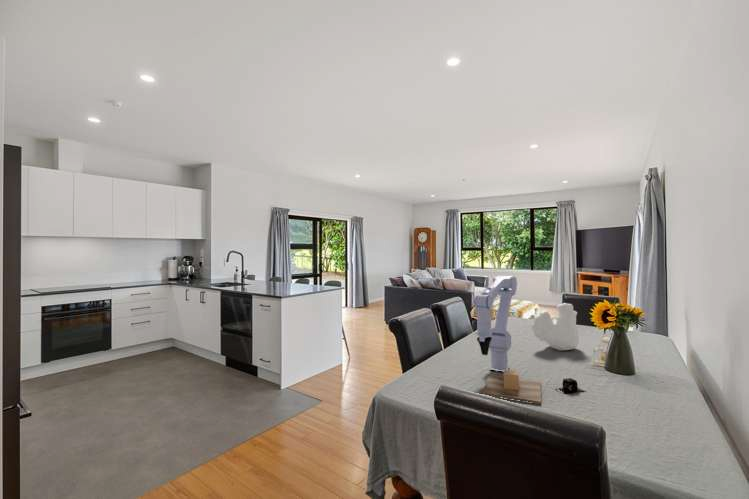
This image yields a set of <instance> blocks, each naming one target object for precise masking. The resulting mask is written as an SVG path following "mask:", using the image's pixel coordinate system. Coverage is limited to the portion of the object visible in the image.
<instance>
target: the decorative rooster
mask: <svg viewBox="0 0 749 499" xmlns="http://www.w3.org/2000/svg"><path fill="white" fill-rule="evenodd" d="M556 310H557V315H552V316H551V315H550V313H549V312H548V311H547V310H541V311H539V312H538V314H537V315H536V316H534V319H533V320H532V321H533V322H532V324H531V325H530V327H531V331H532V333H533V334H532V335H533V336H534V338H536V339H537V340H539V341H540V342H545V343H546V344H547V345H548V346H549V347H550V348H552V349H553V348H554V349H553V350H556V349H557V351H570V350H573V349H575V348H577V347H578V345H579V343H580V336H579V330H578V327H577V325H576V324H577V315H578V312H577V311H576V310H574V305H573V304H572V303H567V302H563V303H561V304H558V305H557V306H556ZM554 319H555V321H553V320H554Z"/></svg>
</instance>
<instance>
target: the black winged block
mask: <svg viewBox="0 0 749 499" xmlns="http://www.w3.org/2000/svg"><path fill="white" fill-rule="evenodd" d="M557 388H558V389H559V390H560V391H562V392H563V393H564V394H563V393H562V394H563V395H565V394H566V395H572V394H578V393H579V394H580V393H586V392H587V391H586V390H583V389H582V388H580V387H578V382H577V380H576V379H574V378H572V377H568V378H563V379H562V387H557Z"/></svg>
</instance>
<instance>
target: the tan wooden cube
mask: <svg viewBox="0 0 749 499" xmlns="http://www.w3.org/2000/svg"><path fill="white" fill-rule="evenodd" d="M503 376H504V388H506V389H513V390H519V378H520V371H519V370H512V369H509V370H506V369H505V371H504V372H503Z"/></svg>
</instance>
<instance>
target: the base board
mask: <svg viewBox="0 0 749 499" xmlns="http://www.w3.org/2000/svg"><path fill="white" fill-rule="evenodd" d="M482 394H485V395H489V396H493V397H497V398H496V399H499V398H500V397H503V398H502V399H501V400H505V399H504V398H507V399H509V400H508V401H511V400H510V399H514V401H513V402H517V401H516V400H520V401H525V402H526V401H528V402H532V403H534V404H533V405H537V404H539V406H541V405H542V384H541V381H540V380H534V379H526V378H520V377H519V390H513V389H506V388H504V375H503V376H502V375H496V374H495V375H494V374H488V376H487V378H486V382H485V385H484V386H483V389H482V392H481V395H482ZM493 397H492V398H493Z"/></svg>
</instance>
